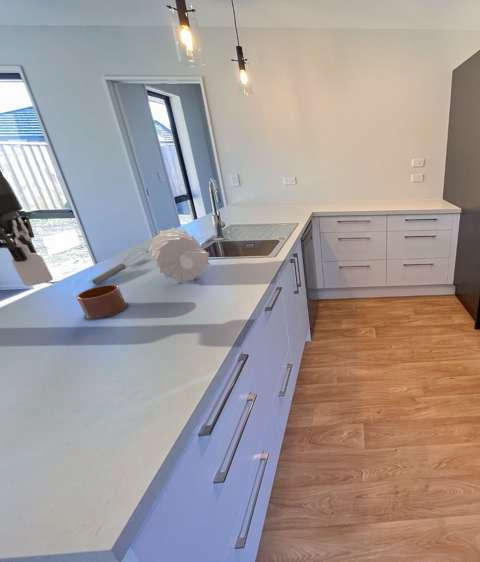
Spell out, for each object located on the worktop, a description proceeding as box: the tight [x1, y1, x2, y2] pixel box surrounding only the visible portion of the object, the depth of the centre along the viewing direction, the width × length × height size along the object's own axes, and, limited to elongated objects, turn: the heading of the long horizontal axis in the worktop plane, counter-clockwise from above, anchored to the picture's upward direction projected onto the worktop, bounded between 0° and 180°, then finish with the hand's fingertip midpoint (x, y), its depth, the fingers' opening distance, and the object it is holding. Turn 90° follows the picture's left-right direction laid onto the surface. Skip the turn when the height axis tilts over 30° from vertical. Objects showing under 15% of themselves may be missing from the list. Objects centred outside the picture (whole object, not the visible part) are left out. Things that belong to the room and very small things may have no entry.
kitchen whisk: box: [89, 247, 153, 287], centre depth 129 cm, size 6×34×6 cm, turn 1°
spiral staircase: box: [148, 227, 211, 283], centre depth 122 cm, size 18×18×25 cm
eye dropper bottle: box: [11, 241, 54, 287], centre depth 81 cm, size 4×6×12 cm
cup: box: [76, 284, 127, 320], centre depth 97 cm, size 10×10×7 cm
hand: (26, 258), depth 81 cm, fingers closed on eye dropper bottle, 4 cm apart
